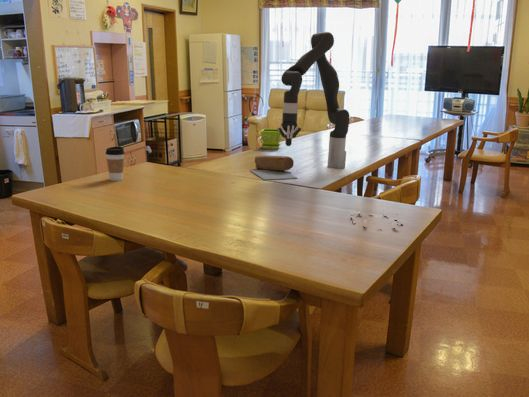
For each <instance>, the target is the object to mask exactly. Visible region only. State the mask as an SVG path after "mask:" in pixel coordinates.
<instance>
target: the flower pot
mask: <svg viewBox="0 0 529 397" xmlns="http://www.w3.org/2000/svg"><path fill="white" fill-rule="evenodd" d="M260 135H261V136H260V137H261V142H262V144H261V148H262V149H265V150H266V149H267V150H278V149H279V148H280V147H281V140H282V138H283V137H282V135H281V134H280V132H279V131H278V129H277V128H262V129H261V131H260Z"/></svg>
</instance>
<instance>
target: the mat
mask: <svg viewBox="0 0 529 397" xmlns="http://www.w3.org/2000/svg"><path fill="white" fill-rule="evenodd" d="M249 172H251V173H252V174H254V175H255V176H256V177H258V178H260V179H262V180H263V181H277V180H278V181H280V180H298V177H297V176H294V175H293V174H291V173H289V172H287V170H285V171H278V170H266V169H251V170H249Z"/></svg>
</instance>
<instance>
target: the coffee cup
mask: <svg viewBox="0 0 529 397" xmlns="http://www.w3.org/2000/svg"><path fill="white" fill-rule="evenodd" d="M105 150H106V151H105V154H106V163H107V169H108V170H107V171H108V176H109V177H108V178H109V180H110V181H112V182H117V181H118V182H119V181H122V180H123V179H124V166H125V165H124V164H125V163H124V162H125V158H124V154H125V151H124V150H125V149H124V147H123V146H111V147H108V148H106V149H105Z"/></svg>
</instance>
